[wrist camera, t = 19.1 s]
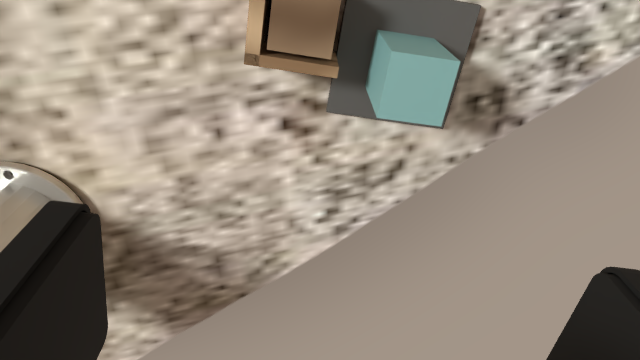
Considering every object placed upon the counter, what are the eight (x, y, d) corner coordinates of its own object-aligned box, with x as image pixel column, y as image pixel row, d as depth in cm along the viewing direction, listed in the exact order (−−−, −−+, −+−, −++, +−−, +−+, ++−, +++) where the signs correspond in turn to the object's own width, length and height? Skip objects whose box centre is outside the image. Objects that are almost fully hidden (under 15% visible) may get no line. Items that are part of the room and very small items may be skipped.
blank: (419, 94, 38) (441, 126, 32) (365, 86, 38) (376, 117, 31) (434, 38, 36) (460, 61, 30) (376, 29, 35) (391, 51, 29)
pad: (441, 126, 40) (443, 129, 39) (326, 109, 39) (326, 112, 38) (478, 4, 35) (481, 5, 35) (349, -19, 34) (349, -18, 34)
